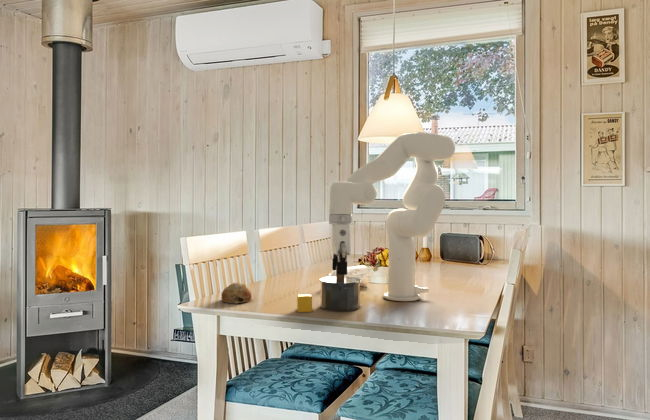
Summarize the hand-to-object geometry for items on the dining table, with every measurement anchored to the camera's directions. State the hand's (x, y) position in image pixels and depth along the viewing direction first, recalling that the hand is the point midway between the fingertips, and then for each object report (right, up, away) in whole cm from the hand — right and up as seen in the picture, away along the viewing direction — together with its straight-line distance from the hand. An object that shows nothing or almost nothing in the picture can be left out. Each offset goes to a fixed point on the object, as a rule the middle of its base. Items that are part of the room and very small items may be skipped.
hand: (339, 272), depth 170 cm
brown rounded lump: (-35, -11, +9) cm, 38 cm away
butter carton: (-11, -12, -5) cm, 17 cm away
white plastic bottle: (+5, -11, +35) cm, 37 cm away
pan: (0, -11, +1) cm, 11 cm away
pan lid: (0, -3, 0) cm, 3 cm away
